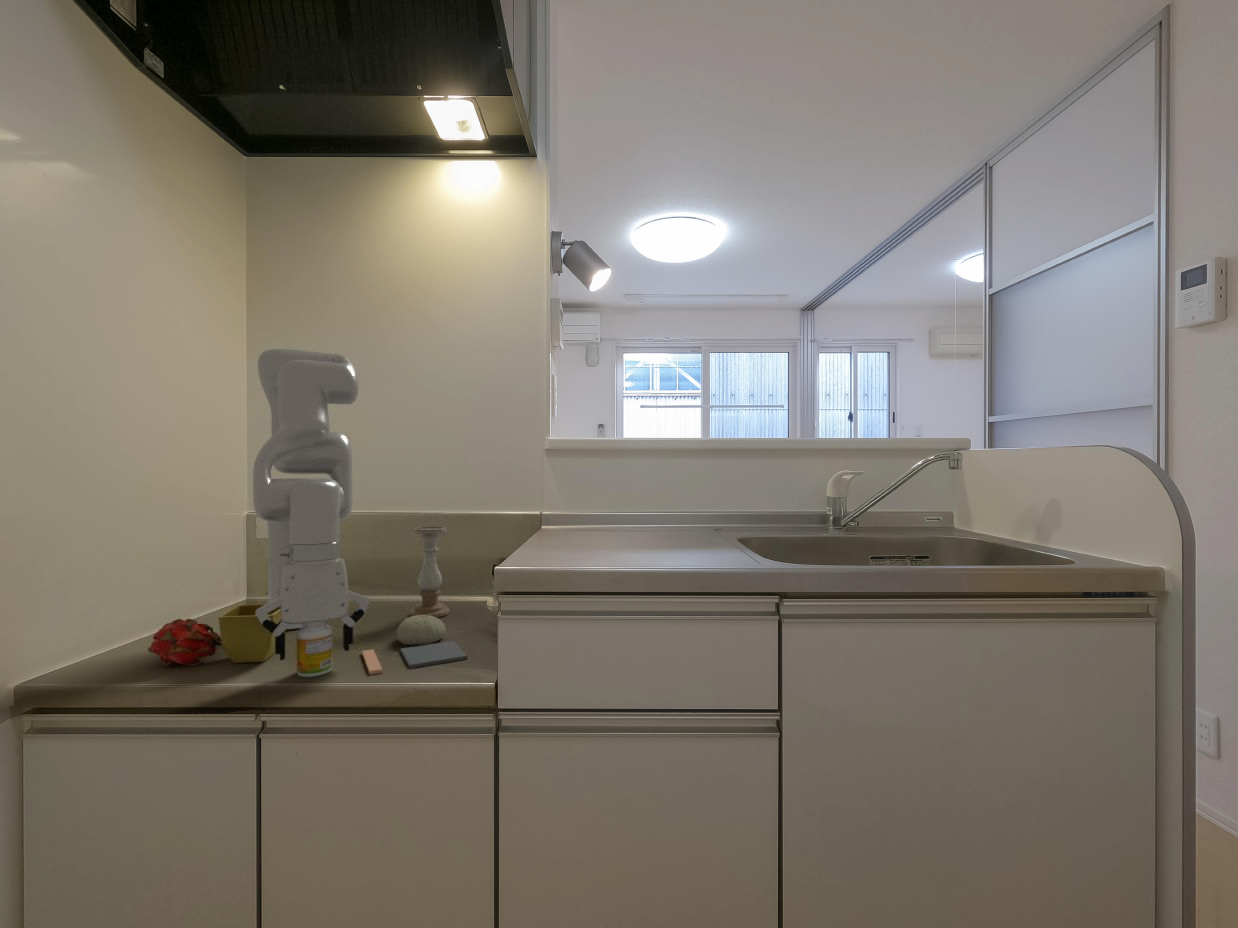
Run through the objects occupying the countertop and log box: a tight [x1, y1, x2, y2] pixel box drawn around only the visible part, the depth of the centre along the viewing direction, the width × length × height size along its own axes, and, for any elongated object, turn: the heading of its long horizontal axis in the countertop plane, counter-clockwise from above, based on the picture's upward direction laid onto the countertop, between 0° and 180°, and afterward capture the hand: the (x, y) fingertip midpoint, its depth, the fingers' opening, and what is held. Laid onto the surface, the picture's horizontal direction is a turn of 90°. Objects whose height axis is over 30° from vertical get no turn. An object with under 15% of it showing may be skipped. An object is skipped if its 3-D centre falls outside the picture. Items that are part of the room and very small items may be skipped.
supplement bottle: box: [296, 620, 333, 678], centre depth 100 cm, size 5×5×10 cm
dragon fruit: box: [147, 618, 222, 667], centre depth 104 cm, size 8×8×12 cm
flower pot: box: [218, 603, 286, 664], centre depth 107 cm, size 9×9×9 cm
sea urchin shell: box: [396, 615, 447, 646], centre depth 118 cm, size 9×8×8 cm
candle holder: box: [409, 525, 450, 618], centre depth 138 cm, size 9×9×20 cm
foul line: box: [361, 648, 383, 675], centre depth 104 cm, size 12×2×1 cm, turn 29°
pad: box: [399, 640, 468, 669], centre depth 109 cm, size 10×10×1 cm
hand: (315, 653), depth 100 cm, fingers open, 9 cm apart
